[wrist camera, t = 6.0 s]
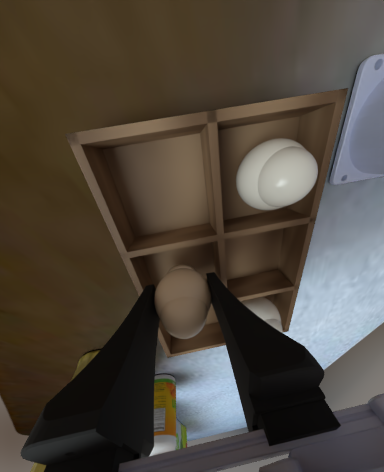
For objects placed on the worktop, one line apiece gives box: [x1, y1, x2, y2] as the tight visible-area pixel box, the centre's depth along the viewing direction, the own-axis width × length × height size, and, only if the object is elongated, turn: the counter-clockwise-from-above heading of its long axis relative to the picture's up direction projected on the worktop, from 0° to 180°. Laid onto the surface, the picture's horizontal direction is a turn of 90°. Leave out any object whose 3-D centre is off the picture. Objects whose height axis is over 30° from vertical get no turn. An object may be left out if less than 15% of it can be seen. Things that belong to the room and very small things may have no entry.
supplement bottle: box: [149, 374, 176, 456], centre depth 22 cm, size 5×5×10 cm
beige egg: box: [154, 264, 212, 339], centre depth 11 cm, size 4×4×5 cm
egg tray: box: [65, 88, 348, 358], centre depth 14 cm, size 15×22×3 cm
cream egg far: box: [240, 297, 283, 333], centre depth 15 cm, size 4×4×5 cm
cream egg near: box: [236, 138, 318, 210], centre depth 9 cm, size 4×4×5 cm
